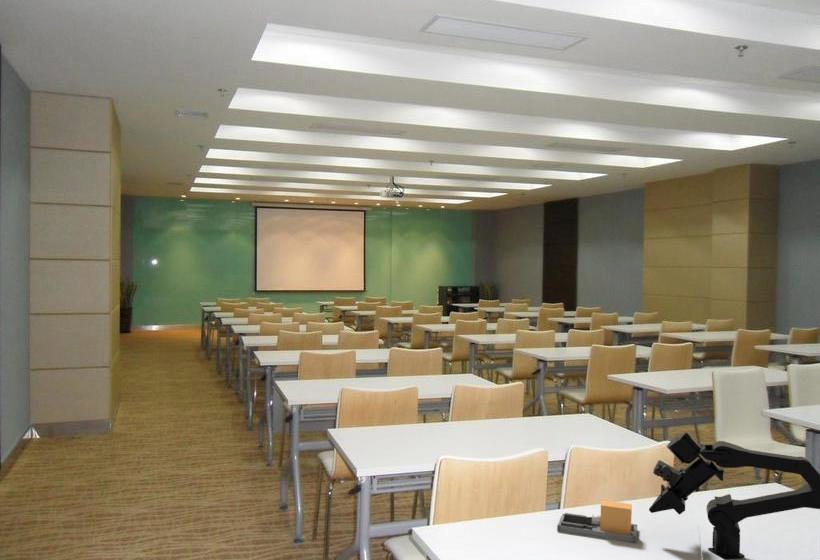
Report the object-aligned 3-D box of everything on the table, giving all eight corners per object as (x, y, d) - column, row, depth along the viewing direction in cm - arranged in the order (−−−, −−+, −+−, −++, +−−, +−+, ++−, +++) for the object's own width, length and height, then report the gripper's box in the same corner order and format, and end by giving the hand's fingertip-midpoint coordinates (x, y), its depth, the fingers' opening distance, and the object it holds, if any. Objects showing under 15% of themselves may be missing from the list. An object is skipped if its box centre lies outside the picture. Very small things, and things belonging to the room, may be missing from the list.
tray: (637, 533, 189) (637, 522, 189) (635, 546, 180) (635, 534, 180) (562, 522, 196) (562, 511, 196) (557, 534, 187) (557, 523, 187)
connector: (631, 532, 187) (631, 504, 187) (630, 538, 183) (630, 509, 183) (592, 526, 191) (593, 499, 191) (591, 532, 186) (591, 504, 186)
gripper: (672, 445, 190) (630, 478, 194) (672, 461, 172) (626, 498, 176) (701, 476, 187) (658, 509, 191) (704, 496, 169) (657, 532, 173)
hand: (650, 511), depth 183 cm, fingers closed
